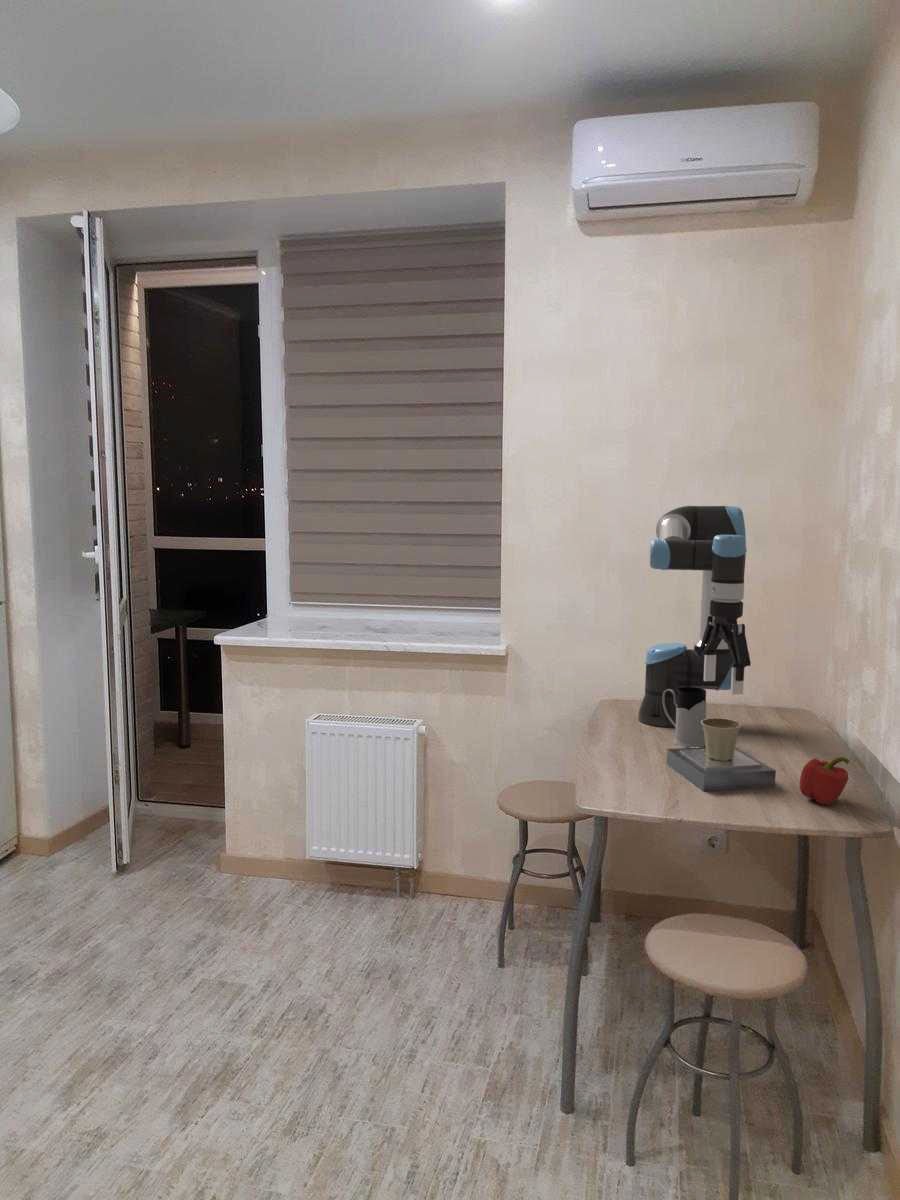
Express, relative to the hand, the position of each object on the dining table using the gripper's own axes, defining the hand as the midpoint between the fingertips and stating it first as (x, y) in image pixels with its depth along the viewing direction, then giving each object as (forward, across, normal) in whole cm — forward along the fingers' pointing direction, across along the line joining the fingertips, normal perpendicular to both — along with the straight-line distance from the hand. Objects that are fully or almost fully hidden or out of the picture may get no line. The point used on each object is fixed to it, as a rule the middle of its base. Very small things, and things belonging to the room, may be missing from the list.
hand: (722, 687), depth 207 cm
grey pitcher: (+22, -28, +4) cm, 36 cm away
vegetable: (+22, +21, +15) cm, 33 cm away
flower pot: (+18, +1, 0) cm, 18 cm away
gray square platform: (+22, +1, 0) cm, 22 cm away
